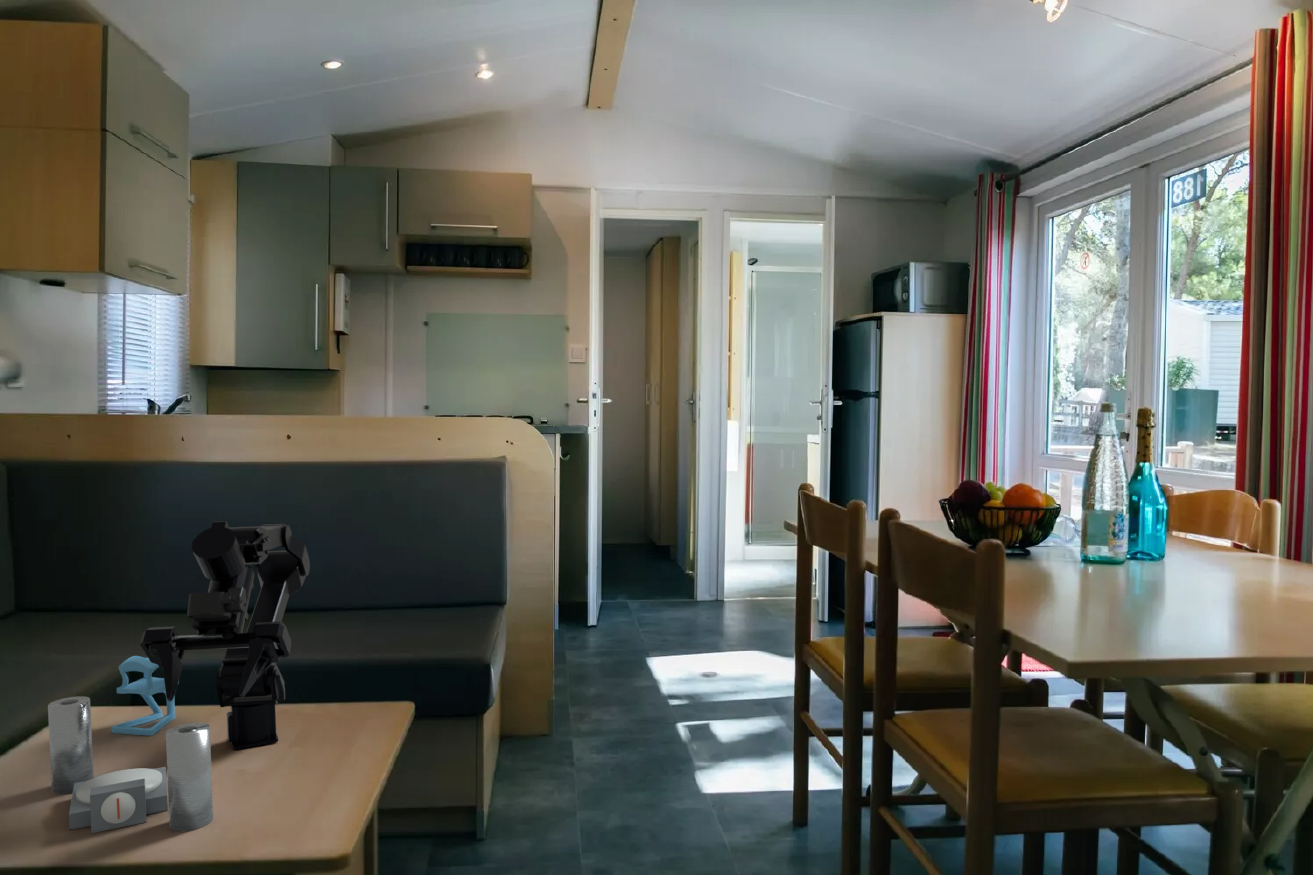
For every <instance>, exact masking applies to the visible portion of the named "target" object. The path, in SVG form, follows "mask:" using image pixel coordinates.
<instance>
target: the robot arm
mask: <svg viewBox="0 0 1313 875" xmlns="http://www.w3.org/2000/svg"><path fill="white" fill-rule="evenodd" d="M279 548H284V550H276V549H279ZM191 550H192V553H193V555H194V557H195V559H196V561H197V563H198V565H199V567H200V570H201V571H202V574H203V575H204V578H206V579H208V580H210V582H209V584H208V585H209V586H208V590H207V592H193V593H189V596H188V604H187V611H186V612H187V616H186V618H187V619H190V618H191V619H192V622H191V623H192V624H191V626H192V628H193V630H197V634H189V635H185V634H184V635H180V633H179V631H178V629H177V627H176V626H157V627H156V626H155V627H148V628H146V629H145V631H144V632H142V635H141V638H140V642H139V645H140V647H141V648H142V650H143V651H144V653H145V655H146V658H149V660H150V662H151V663H154V664H158V666H159V667H158V668H160V669H162V673H163V678H164V682H165V689H166V695H165V698H166V697H167V700H168V701H172V700H173V698H174V695H176V692H177V689H178V685H179V684H178V681H179V682H180V677H181V674H182V671H183V670H182V669H183V666H184V665H183V663H182V661H181V660H182V659H183V657H184V654H185V651H194V650H196V651H197V650H221V649H225V650H226V652H225V656H224V658H223V659H222V662H221V663H222V664H221V667H219V669H218V670H217V673H216V679H215V686H216V692H217V696H218V703H219V706H220V708H227V707H230V711H228V712H227V713H226V730H227V732H226V733H227V740H228V741H227V742H228V743H229V744H231V745H232V750H240V749H245V748H252V747H256V746H262V745H269V744H272V743H273V744H274V743H277V742H279V737H278V734H277V717H276V716H277V714H276V705H278V703H279V702H284V701H285V700H286V688H285V680H284V677H283V675H282V674H281V671H280V669H279V667H278V665H277V663H278V662H280V659H281V658H287V657H289V656H290V655H291V654H290V653H291V648H292V639H291V636H290V634H289V631H288V628H287V626H286V624H285V623H284V622H283V618H284V615H285V611H286V608H287V604H288V601H289V598H290V596H291V595H293V594H295V593H296V592H297V591H299V590H301V589H302V587H303V584H304V583H305V580H306V577H308V576H309V574H310V569H311V562H310V558H309V557H310V556H309V553H308V551H307V546H306V544H305V543H304V542H303V541H301V540H300V539H298V537H296V536H295V535H293V533H292V529H291V527H290V525H288V524H287V525H286V524H285V523H273V524H272V523H270V524H262V525H258V526H238V527H237V526H236V527H235V526H234V527H230V526H229V524H228V521H212V523H211V526H210V528H207V529H204V530H202V532H200V533H198V535H197V536H195V538H194V539H193V540H192V542H191ZM250 565H253V567H254V570H255V572H254V570H253V569H252V567H250ZM255 573H256V576H257V578H258V581H259V585H260V591H259V593H258V596H257V598H256V599H257V600H256V603H255V605H254V608H253V612H252V614H251V617H250V621H249V623H248V626H247V629H246V632H243V630H244V628H245V627H244V626H245V622H248V619H249V613H248V607H249V602H250V598H251V592H252V590H253V589H254V585H255V584H254V578H255ZM167 700H166V701H167Z"/></svg>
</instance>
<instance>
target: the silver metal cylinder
mask: <svg viewBox="0 0 1313 875" xmlns="http://www.w3.org/2000/svg"><path fill="white" fill-rule="evenodd" d="M165 748H166V749H165V750H166V767H167V768H166V776H167V800H168V816H169V817H168V818H169V829H170V830H172V831H174V832H189V831H194V830H195V831H196V830H198V829H202V828H203V827H204V828H205V827H206V826H208V825H209V824H211V823H212V822H213V820H214V803H213V777H212V775H213V774H212V755H211V754H212V752H211V728H210V724H208V723H205V722H191V723H183V724H180V725H179V724H178V725H176V726H174V727H171V728H169V729H168V730H166V731H165Z"/></svg>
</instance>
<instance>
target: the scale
mask: <svg viewBox="0 0 1313 875" xmlns="http://www.w3.org/2000/svg"><path fill="white" fill-rule="evenodd" d="M166 767H167V766H162V767H157V768H143V767H141V768H127V769H121V770H115V771H111V772H108V773H104V774H100V775H98V776H96V777H94V778H93V779H90V780H88V781H84V782H78V783H74V789H73V793H71V794H72V796H71V802H70V807H69V811H68V823H69V824H68V825H69V826H68V827H69V830H70V829H72V830H76V829H81V828H86V827H91V830H90V831H91V834H95V833H100V832H103V831H109V830H113V829H119V828H123V827H128V826H134V825H139V824H143V823H147V815H151V814H156V813H162V812H166V811H169V800H168V781H167V768H166Z"/></svg>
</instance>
